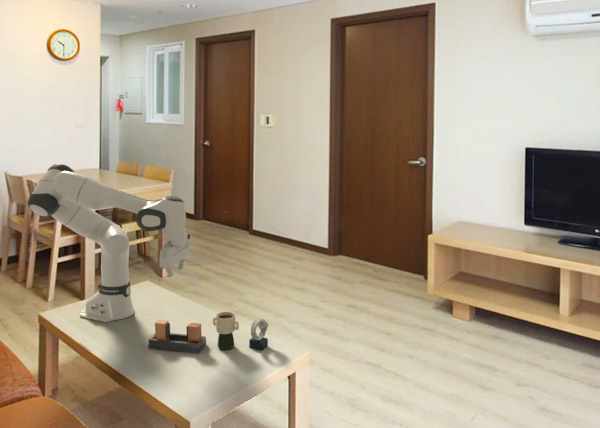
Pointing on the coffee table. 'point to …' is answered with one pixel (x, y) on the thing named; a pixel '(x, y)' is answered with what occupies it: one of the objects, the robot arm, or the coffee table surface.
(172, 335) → the dark grey tray
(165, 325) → the orange block
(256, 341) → the watch
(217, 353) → the coffee table surface
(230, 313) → the character mug
